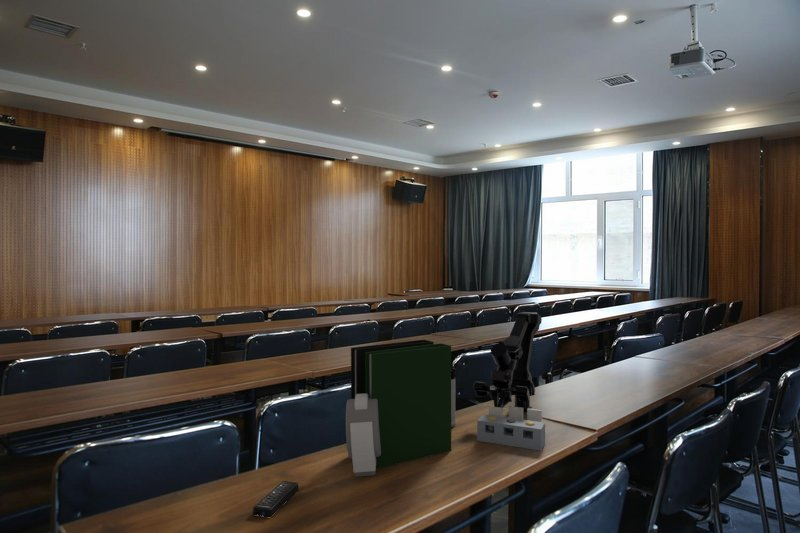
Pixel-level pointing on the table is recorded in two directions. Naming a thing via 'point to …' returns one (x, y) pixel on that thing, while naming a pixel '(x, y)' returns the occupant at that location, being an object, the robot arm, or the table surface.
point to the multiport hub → (275, 499)
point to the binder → (407, 396)
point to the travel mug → (453, 397)
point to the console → (511, 432)
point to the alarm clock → (363, 434)
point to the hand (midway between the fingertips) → (496, 413)
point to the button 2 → (515, 413)
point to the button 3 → (534, 416)
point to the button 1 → (495, 414)
